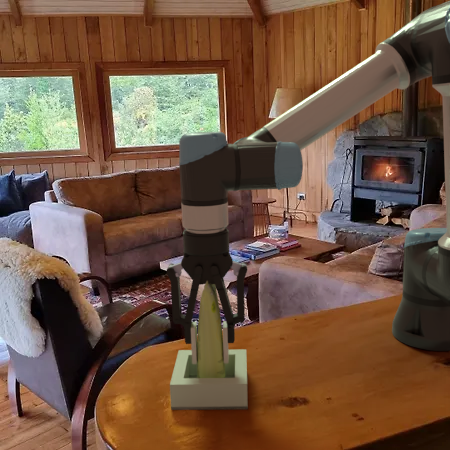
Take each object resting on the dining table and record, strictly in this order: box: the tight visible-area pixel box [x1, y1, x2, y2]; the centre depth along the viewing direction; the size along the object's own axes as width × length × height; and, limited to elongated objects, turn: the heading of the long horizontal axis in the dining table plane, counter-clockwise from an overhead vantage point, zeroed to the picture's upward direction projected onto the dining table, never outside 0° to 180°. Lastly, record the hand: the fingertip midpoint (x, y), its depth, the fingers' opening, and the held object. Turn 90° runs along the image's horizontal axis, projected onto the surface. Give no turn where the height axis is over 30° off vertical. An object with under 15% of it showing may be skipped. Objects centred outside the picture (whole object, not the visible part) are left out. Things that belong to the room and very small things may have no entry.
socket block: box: [169, 348, 248, 411], centre depth 91 cm, size 12×12×4 cm
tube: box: [197, 281, 225, 378], centre depth 89 cm, size 6×5×20 cm
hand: (210, 359), depth 90 cm, fingers open, 5 cm apart
